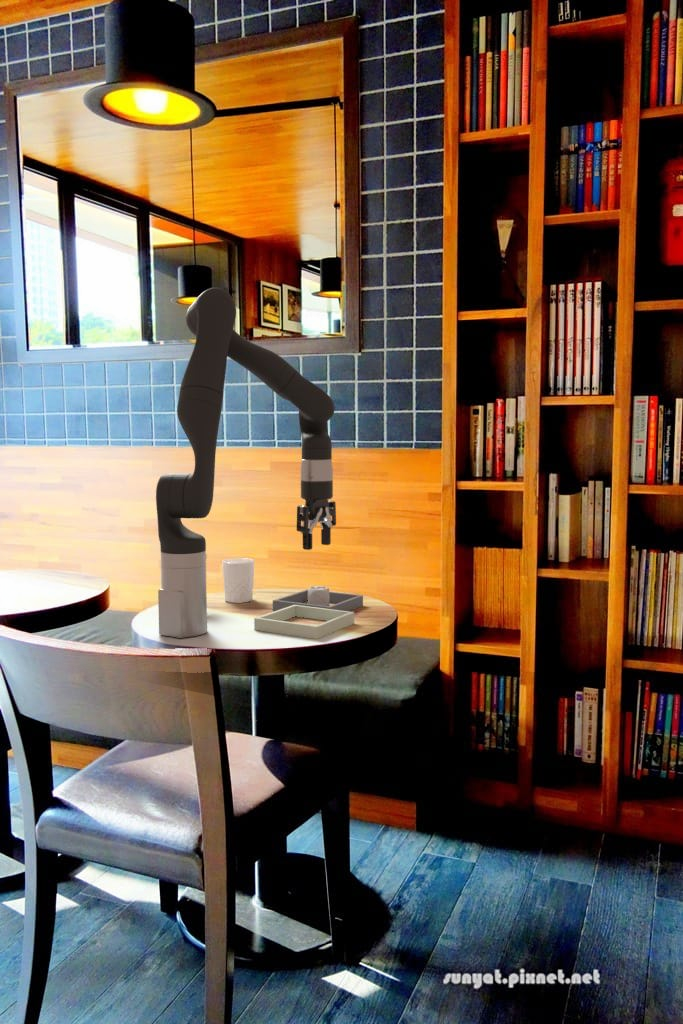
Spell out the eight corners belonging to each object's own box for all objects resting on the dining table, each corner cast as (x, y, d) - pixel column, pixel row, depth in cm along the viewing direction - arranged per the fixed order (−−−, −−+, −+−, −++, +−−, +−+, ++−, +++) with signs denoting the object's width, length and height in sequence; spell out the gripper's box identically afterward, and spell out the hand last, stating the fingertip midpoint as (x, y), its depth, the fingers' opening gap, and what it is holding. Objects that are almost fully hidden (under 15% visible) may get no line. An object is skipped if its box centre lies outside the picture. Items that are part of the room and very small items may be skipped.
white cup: (256, 597, 208) (256, 558, 207) (252, 603, 200) (252, 563, 199) (225, 597, 208) (225, 558, 207) (220, 603, 200) (219, 563, 200)
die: (329, 610, 193) (329, 589, 192) (308, 611, 193) (308, 590, 192) (328, 606, 198) (328, 585, 197) (307, 606, 198) (307, 586, 197)
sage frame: (317, 639, 166) (317, 626, 166) (254, 629, 174) (254, 618, 174) (354, 623, 180) (354, 612, 180) (294, 615, 188) (294, 604, 187)
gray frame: (330, 618, 185) (330, 607, 184) (272, 610, 192) (272, 600, 192) (362, 605, 198) (362, 595, 198) (308, 599, 206) (308, 589, 206)
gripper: (314, 481, 184) (315, 552, 186) (345, 477, 197) (345, 544, 199) (286, 480, 188) (287, 550, 190) (318, 476, 200) (318, 542, 202)
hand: (317, 547), depth 194 cm, fingers open, 8 cm apart
